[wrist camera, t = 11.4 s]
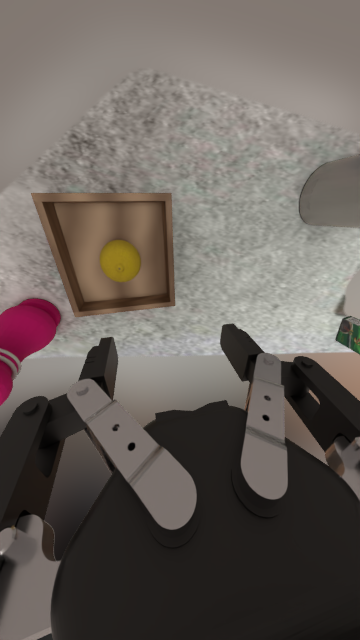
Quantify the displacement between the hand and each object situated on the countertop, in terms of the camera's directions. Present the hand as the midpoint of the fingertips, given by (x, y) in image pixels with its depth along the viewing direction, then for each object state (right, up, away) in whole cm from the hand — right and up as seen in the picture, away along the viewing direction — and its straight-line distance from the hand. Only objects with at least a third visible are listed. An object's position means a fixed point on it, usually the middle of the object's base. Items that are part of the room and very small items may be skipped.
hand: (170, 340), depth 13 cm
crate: (-9, +12, +16) cm, 22 cm away
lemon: (-9, +12, +16) cm, 22 cm away
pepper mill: (-24, +3, +18) cm, 30 cm away
